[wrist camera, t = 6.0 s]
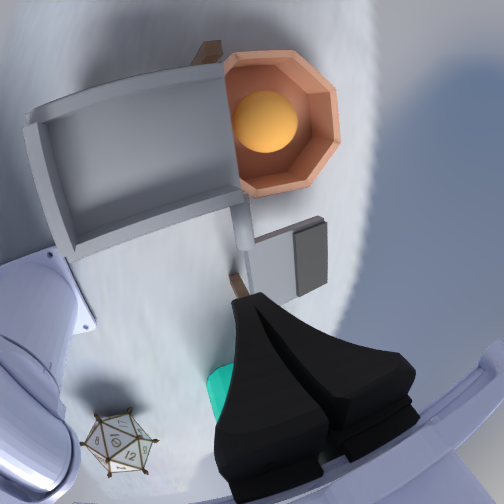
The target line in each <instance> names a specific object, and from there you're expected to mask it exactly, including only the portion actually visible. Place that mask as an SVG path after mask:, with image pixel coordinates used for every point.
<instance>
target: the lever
mask: <svg viewBox="0 0 504 504" xmlns="http://www.w3.org/2000/svg"><path fill="white" fill-rule="evenodd" d="M224 77H225V73H224V66H223V64H222V62H221V63H210V64H201V65H193V66H185V67H179V68H172V69H166V70H161V71H155V72H150V73H145V74H141V75H136V76H132V77H128V78H123V79H120V80H116V81H112V82H108V83H105V84H101V85H98V86H94V87H91V88H88V89H85V90H82V91H79V92H76V93H73V94H70V95H67V96H65V97H62V98H59V99H57V100H54V101H51V102H49V103H46V104H44V105H42V106H39V107H37V108H35V109H32V112H30V113H27V114H25V116H26V122H27V127H25V128H23V129H22V131H23V136H24V141H25V146H26V150H27V155H28V159H29V163H30V167H31V171H32V175H33V179H34V182H35V186H36V189H37V192H38V196H39V199H40V202H41V205H42V208H43V211H44V214H45V217H46V220H47V223H48V226H49V228H50V231H51V234H52V236H53V239H54V241H55V244H56V246H57V249H58V251H59V254H60V256H61V258H64V257H67V260H68V262H69V263H72V262H74V261H77V260H79V259H82V258H84V257H87V256H89V255H92V254H95V253H97V252H100V251H102V250H105V249H108V248H110V247H113V246H116V245H118V244H121V243H124V242H126V241H129V240H132V239H135V238H137V237H140V236H143V235H146V234H148V233H151V232H154V231H157V230H160V229H163V228H166V227H169V226H171V225H174V224H177V223H180V222H183V221H186V220H189V219H192V218H195V217H198V216H201V215H204V214H207V213H211V212H214V211H217V210H220V209H223V208H226V207H230V210H231V216H232V222H233V228H234V233H235V239H236V245H237V249H238V250H241V251H243V252H244V258H245V264H246V270H247V276H248V282H249V288H250V293H251V295H252V294H255V293H259V292H262V293H264V294H265V295H266V296H267V297H268V298H270V299H271V300H272V301H274V302H275V303H276V304H278V305H279V306H280V305H282V304H284V303H286V302H288V301H290V300H292V299H294V298H296V297H301V296H303V295H305V294H307V293H308V292H310V291H312V290H314V289H316V288H318V287H320V286H322V285H324V284H326V283H327V271H328V244H327V222H325V221H324V218H322V217H320V216H315V217H312V218H309V219H307V220H304V221H301V222H298V223H296V224H293V225H290V226H287V227H284V228H282V229H279V230H276V231H273V232H271V233H268V234H265V235H262V236H260V237H257V238H254V233H253V226H252V219H251V212H250V205H249V198H248V195H246V194H243V191H242V189H241V184H240V178H239V171H238V165H237V158H236V152H235V145H234V138H233V132H232V125H231V119H230V112H229V106H228V99H227V93H226V86H225V79H224Z"/></svg>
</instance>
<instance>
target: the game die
mask: <svg viewBox="0 0 504 504" xmlns="http://www.w3.org/2000/svg"><path fill="white" fill-rule="evenodd" d="M127 411H128V412H127V413H124V414H118V415H112V416H106V417H99V416H98V414H96V413H94V417H95V418H96V422H95V424H94V426H93V427H92V429H91V431H90V433H89V435H88V437H87V439H86V441H85V442H79V443H80V446H84V445H85V446H86V447H87V448H88V449H89V450H90V452H91V453H92V454H93V455H94V456H95V457H96V458H97V460H98V461H99V462H100V463H101V464H102V465H103V466H104V467H105V468H106V469H107V470H108V471H109V473H108V475H107V476H108V478H110V477H112V476H111V475H112V473H116V472H128V471H138V470H142V471H143V472H144V474H147V475H149V474H148V471H147V470H145V469H144V467H145V464H146V461H147V458H148V455H149V452H150V449H151V446H152V443H153V442H154V443H157V442H158V441H160V440H157V439H153V440H152V439H151V438H150V437H149V436H148V435H147V434H146V433H145V431H144V430H143V429H142V428H141V427H140V426H139V424H138V423H137V422H136V421H135V420H134V418H133V417H132V416H131V415H130V413H131V411H132V409H131V407H130V408H128V410H127Z"/></svg>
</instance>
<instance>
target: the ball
mask: <svg viewBox="0 0 504 504" xmlns="http://www.w3.org/2000/svg"><path fill="white" fill-rule="evenodd" d="M297 124H298V119H297V114H296V111H295V109H294V107H293V105H292V104H291V103H290V101H289V100H287V99H286V98H285V97H284V96H282V95H280V94H278V93H276V92H272V91H257V92H254V93H251V94H249V95H247V96H246V97H244V98H243V99H242V100H241V101H240V102H239V103H238V105H237V106H236V108H235V110H234V113H233V117H232V125H233V130H234V133H235V135H236V137H237V138H238V140H239V141H240V142H241V143H242V144H243V145H244V146H246V147H247V148H249V149H251V150H253V151H256V152H261V153H269V152H274V151H277V150H280V149H282V148H283V147H285V146H286V145H287V144H288V143H289V142H290V141H291V140H292V139H293V137H294V135H295V133H296V130H297Z"/></svg>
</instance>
